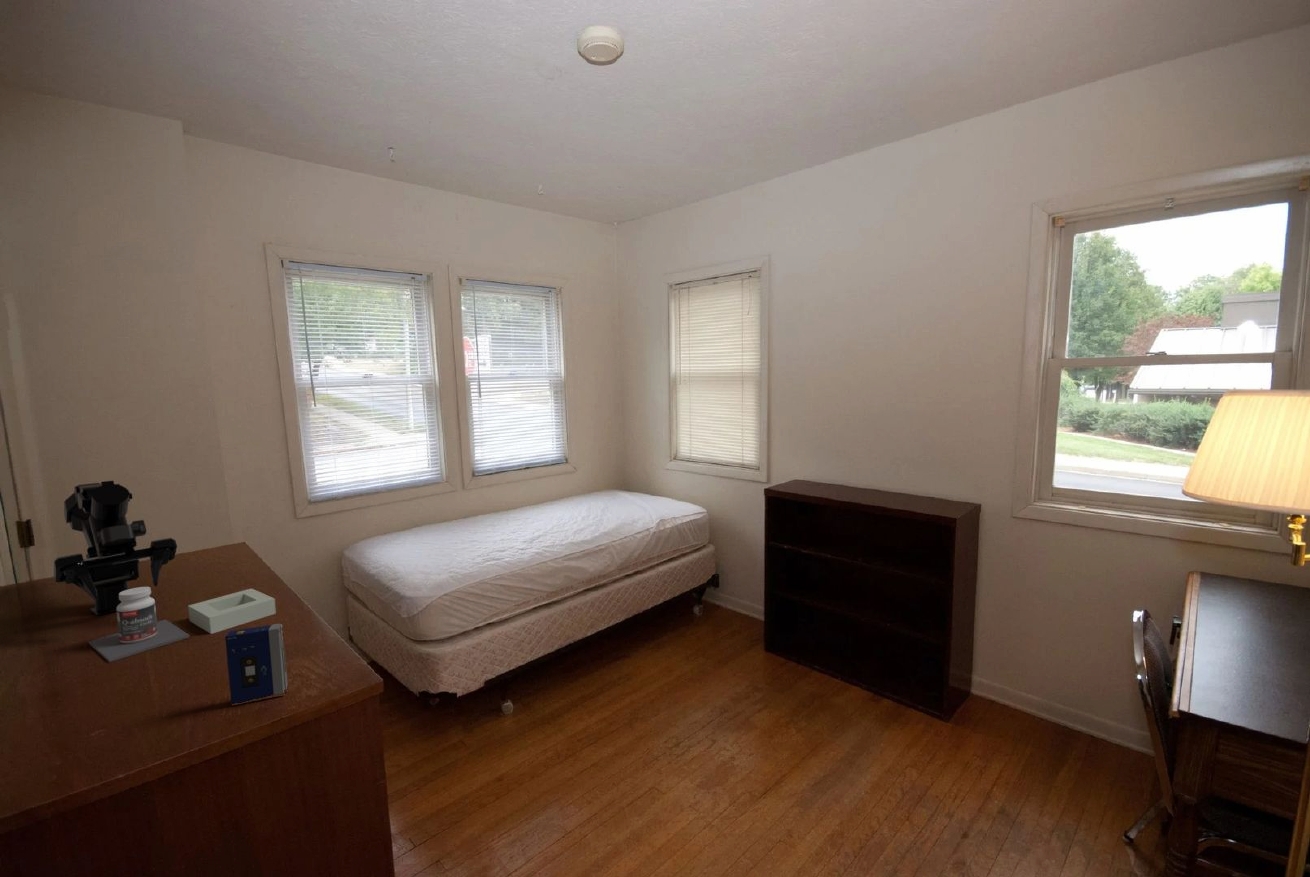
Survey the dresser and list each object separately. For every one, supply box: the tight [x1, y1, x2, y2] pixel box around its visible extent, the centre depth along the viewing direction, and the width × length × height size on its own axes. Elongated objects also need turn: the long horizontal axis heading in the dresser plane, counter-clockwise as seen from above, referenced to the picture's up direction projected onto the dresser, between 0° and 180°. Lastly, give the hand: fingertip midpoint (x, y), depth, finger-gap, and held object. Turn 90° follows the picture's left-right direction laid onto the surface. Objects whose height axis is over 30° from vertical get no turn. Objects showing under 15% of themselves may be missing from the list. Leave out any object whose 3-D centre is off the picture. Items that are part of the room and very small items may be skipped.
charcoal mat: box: [88, 619, 190, 663], centre depth 111 cm, size 14×12×1 cm
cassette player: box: [224, 622, 289, 705], centre depth 90 cm, size 7×2×12 cm, turn 114°
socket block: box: [187, 588, 277, 635], centre depth 122 cm, size 12×12×4 cm
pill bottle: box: [116, 586, 158, 643], centre depth 111 cm, size 6×6×10 cm
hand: (127, 591), depth 115 cm, fingers open, 9 cm apart
